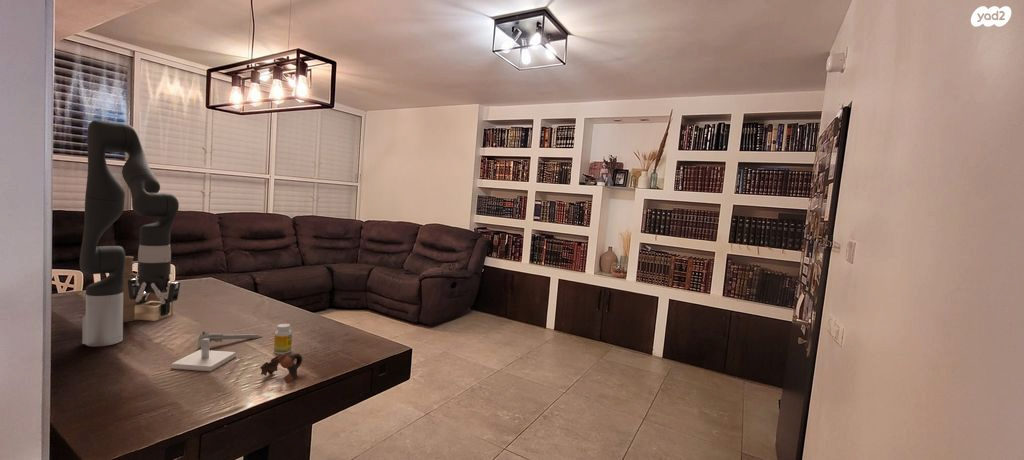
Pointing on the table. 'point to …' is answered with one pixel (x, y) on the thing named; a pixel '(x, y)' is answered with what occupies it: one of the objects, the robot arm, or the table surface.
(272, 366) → the brown curved piece
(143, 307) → the hollow block
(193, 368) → the peg base plate
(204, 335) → the caliper
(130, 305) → the binoculars
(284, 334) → the supplement bottle
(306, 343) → the table surface
